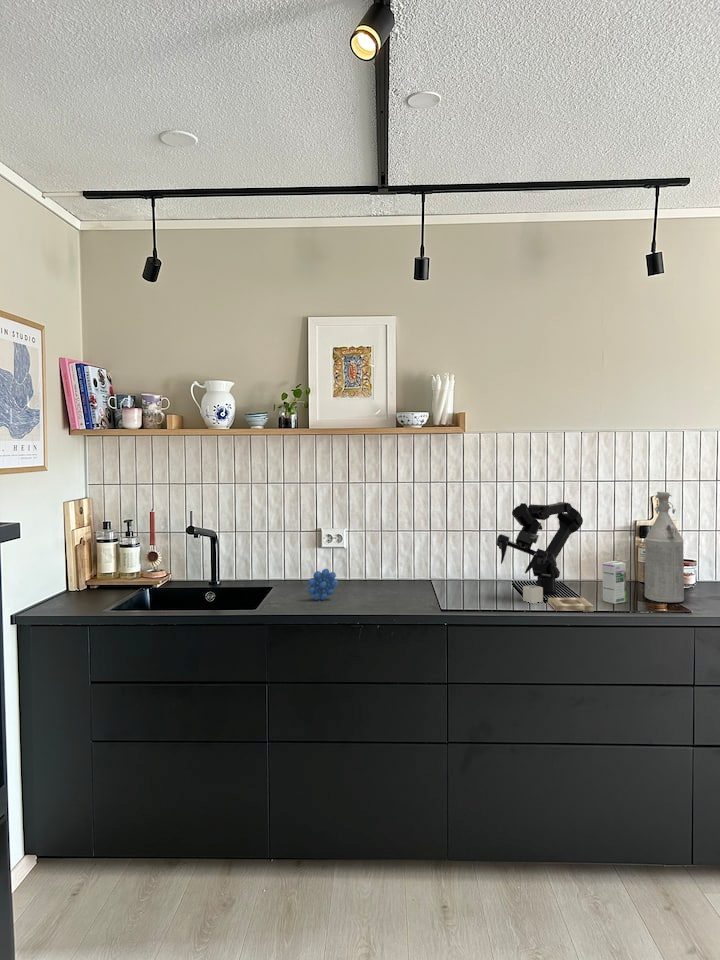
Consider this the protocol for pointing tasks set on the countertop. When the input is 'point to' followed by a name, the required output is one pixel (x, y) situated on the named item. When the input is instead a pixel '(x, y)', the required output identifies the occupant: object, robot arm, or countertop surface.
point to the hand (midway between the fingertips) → (513, 568)
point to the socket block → (571, 604)
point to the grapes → (322, 584)
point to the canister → (664, 557)
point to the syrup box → (614, 582)
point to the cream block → (532, 594)
